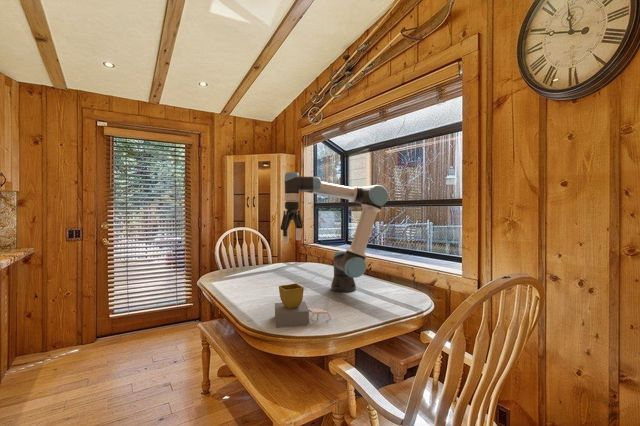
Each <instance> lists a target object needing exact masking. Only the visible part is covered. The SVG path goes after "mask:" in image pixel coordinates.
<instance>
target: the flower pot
mask: <svg viewBox="0 0 640 426" xmlns="http://www.w3.org/2000/svg"><path fill="white" fill-rule="evenodd" d="M278 293H279V298H280V301H281V303H283V304H284V306H285V307H287V308H288V309H290V308H295V307H299V306H300V304H301V302H302V301H303V297H304V287H303V286H302V285H301V284H299V283H290V284H282V285H278Z"/></svg>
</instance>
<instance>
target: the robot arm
mask: <svg viewBox="0 0 640 426" xmlns="http://www.w3.org/2000/svg"><path fill="white" fill-rule="evenodd" d="M299 174H300V173H299V172H295V171H289V172H288V171H287V172H285V174H284V209H286V210H283V216H282V220H281V224H280V230H281V231H282V238H283V239H282V243H283V244H289V242H290V241H289V240H290V239H289V238H290V237H289V236H290V235H289V233H290V231H289V230H288V229H289V227H290V224H291V222H292V221H293V222H294V225H295V241H301V240H302V236H301V235H302V233H301V232H302V229H303V227H304V225H303V222H302V217H301V211H300V210H298V209H300V202H299V201H300V192H301V193H307V194H313V195H314V194H316V195H322V196H326V197H330V198H331V197H333V198H338V199H344V200H349V201H351V203H355V204H360V206H361V207H362V210H361V213H360V215H359V219H358V222H357V226H356V228H355V232H354V235H353V238H352V240H351V241H352V242H351V244H350V247H349V248H347V249H346V250H344V251H342V250H341V251H340V250H339V251H334V253H333V278H332V281H331V284H330V289H331V290H332V291H333V292H338V293H349V292H350V291H351V292H354V291H356V290H357V284H356V281H355V278H360V277H362V276H363V275H364V274H365V272H366V270H367V264H366V258H367V256H366V253H365V252H366V249H367V246H368V243H369V240H370V237H371V234H372V231H373V228H374V224H375V221H376V218H377V216H378V215H377V214H378V213H380V212H381V211H382V208H383V206H384V205H385V204H386V203H387V202H388V200H389V192H388V190H387V188H386V187H385V186H384V185H380V184H373V185H366V186H355V185H354V186H353V187H351V186H347V185H346V186H345V185H341V184H336V183H329V182H326V181H322V180H321V178H320V177H319V176H302V175H299ZM351 292H350V293H351Z"/></svg>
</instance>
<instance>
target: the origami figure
mask: <svg viewBox="0 0 640 426" xmlns="http://www.w3.org/2000/svg"><path fill="white" fill-rule="evenodd" d="M308 310H309V313H311V316H309V321H311V325H314V324H315V323H316V321H315V320H314V319H313V318H314V316H315V314H316V319H317V320H319V314H327V316H328V317H329V319H327V320H326V323H327V325H328V322H329V321H331V320H332V317H331V315H330V313H329V312H328V311H327V310H324V309H321V308H308Z"/></svg>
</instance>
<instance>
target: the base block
mask: <svg viewBox="0 0 640 426" xmlns="http://www.w3.org/2000/svg"><path fill="white" fill-rule="evenodd" d="M308 309H309V307H308V304H307V303H306V301H304V300H302V302H301V304H300V306H299V307H295V308H290V309H288V308H287V307H285V306H284V304H283V303H282V302H274V322H275V324H274V327H275V328H290V327H291V328H292V327H300V326H301V327H304V326H310V320H309V319H310V311H309V310H308Z"/></svg>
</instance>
